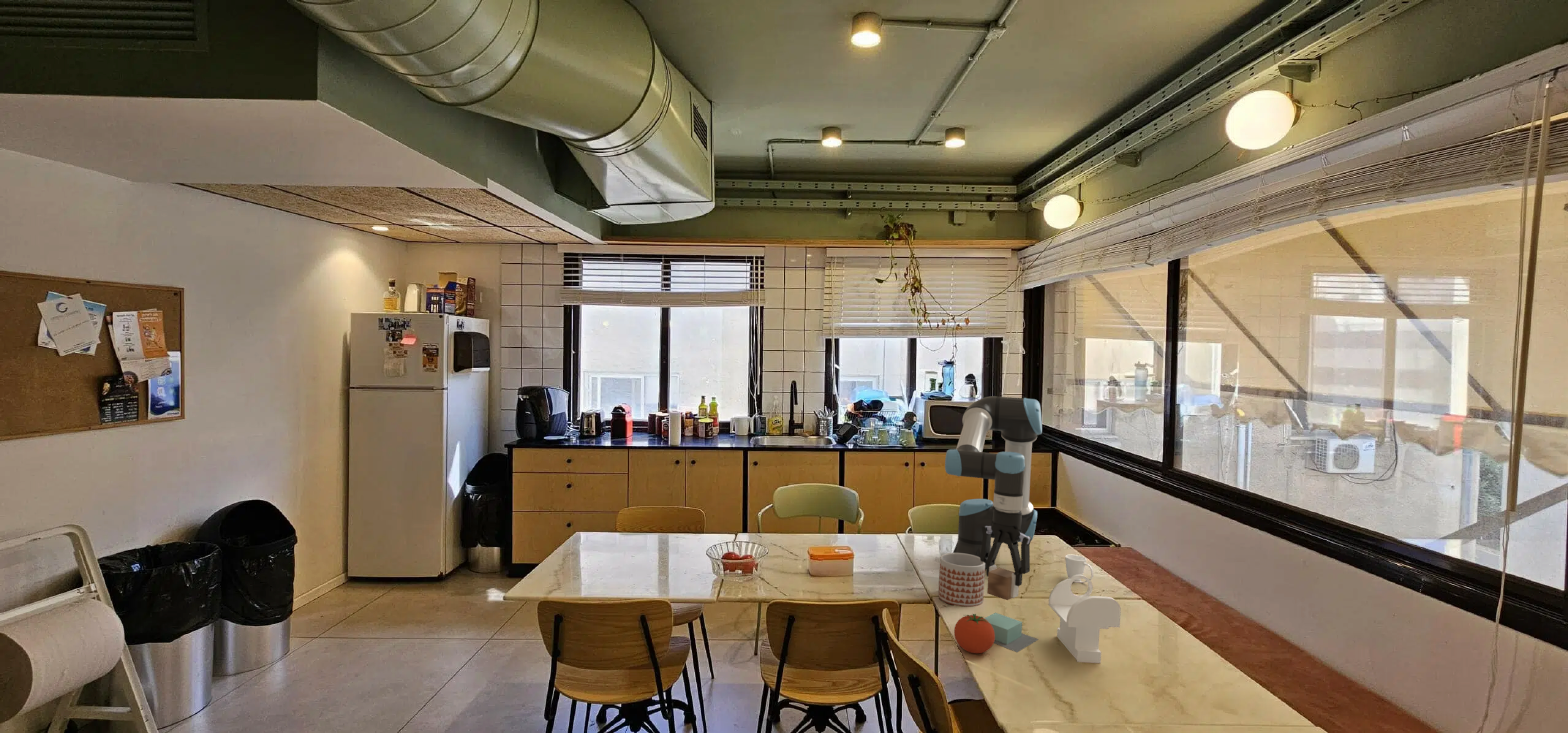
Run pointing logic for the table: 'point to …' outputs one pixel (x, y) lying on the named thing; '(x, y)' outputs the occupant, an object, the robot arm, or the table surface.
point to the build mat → (1018, 643)
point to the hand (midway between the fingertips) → (1002, 592)
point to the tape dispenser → (1083, 618)
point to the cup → (1076, 566)
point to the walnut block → (1000, 583)
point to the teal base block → (1005, 628)
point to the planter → (961, 579)
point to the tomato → (974, 634)
